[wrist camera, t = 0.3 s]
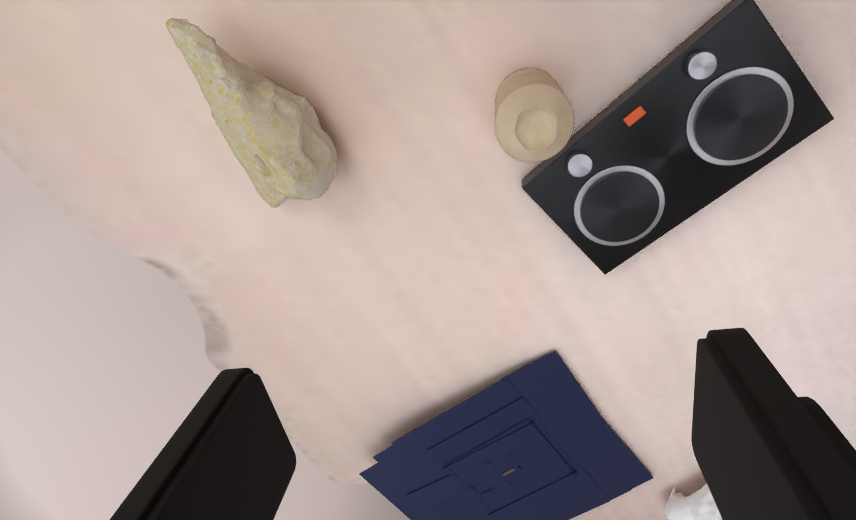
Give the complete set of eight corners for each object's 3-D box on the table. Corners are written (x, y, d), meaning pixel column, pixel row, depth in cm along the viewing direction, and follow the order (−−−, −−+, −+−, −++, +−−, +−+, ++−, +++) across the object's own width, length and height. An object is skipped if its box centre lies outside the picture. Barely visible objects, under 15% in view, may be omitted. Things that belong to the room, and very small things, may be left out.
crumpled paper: (800, 555, 52) (688, 573, 58) (769, 483, 59) (672, 505, 65) (775, 523, 50) (662, 545, 56) (746, 452, 57) (649, 478, 63)
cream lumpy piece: (356, 198, 50) (374, 112, 36) (301, 241, 47) (298, 167, 33) (256, 96, 51) (236, -25, 37) (196, 133, 48) (151, 17, 34)
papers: (353, 448, 64) (348, 470, 61) (549, 335, 56) (555, 354, 52) (460, 548, 71) (461, 573, 68) (646, 461, 63) (657, 485, 60)
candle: (482, 94, 42) (478, 121, 33) (537, 52, 40) (548, 69, 31) (518, 145, 43) (523, 183, 35) (572, 107, 41) (592, 138, 33)
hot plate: (520, 179, 45) (522, 193, 42) (737, -5, 36) (758, -5, 33) (600, 263, 48) (607, 281, 45) (818, 112, 39) (844, 122, 36)
